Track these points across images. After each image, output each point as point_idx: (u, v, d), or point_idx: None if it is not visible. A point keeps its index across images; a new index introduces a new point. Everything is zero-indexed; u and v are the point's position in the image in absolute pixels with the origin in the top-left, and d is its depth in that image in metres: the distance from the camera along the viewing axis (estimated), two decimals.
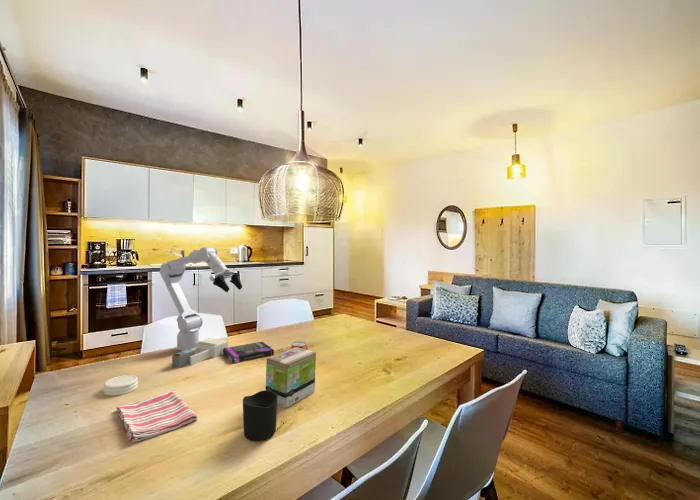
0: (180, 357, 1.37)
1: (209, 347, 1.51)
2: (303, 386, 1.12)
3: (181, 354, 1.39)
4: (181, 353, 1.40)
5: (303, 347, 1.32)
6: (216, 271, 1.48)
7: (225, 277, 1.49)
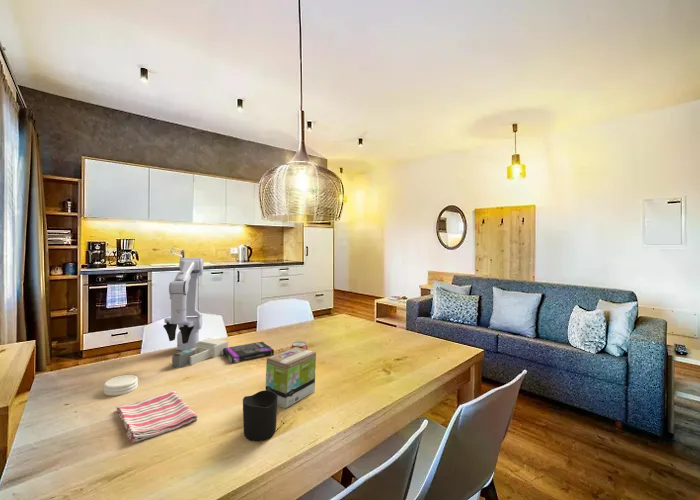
0: (180, 357, 1.37)
1: (209, 347, 1.51)
2: (303, 386, 1.12)
3: (181, 354, 1.39)
4: (181, 353, 1.40)
5: (303, 347, 1.32)
6: None
7: (178, 324, 1.38)
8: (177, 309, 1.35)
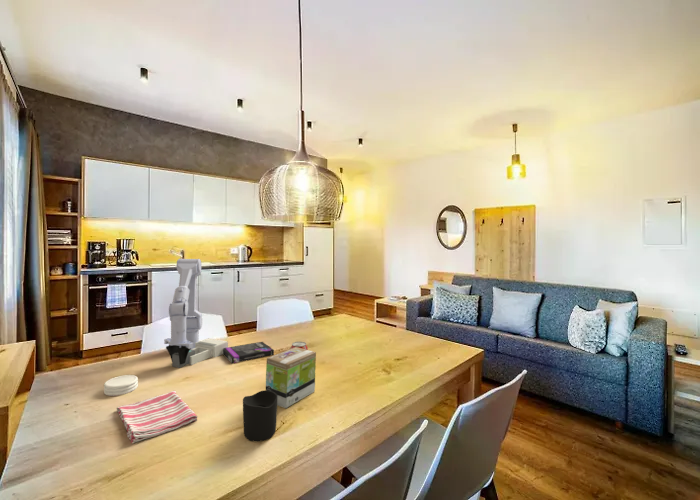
0: None
1: (209, 347, 1.51)
2: (303, 386, 1.12)
3: None
4: None
5: (303, 347, 1.32)
6: None
7: (178, 345, 1.39)
8: (177, 331, 1.36)
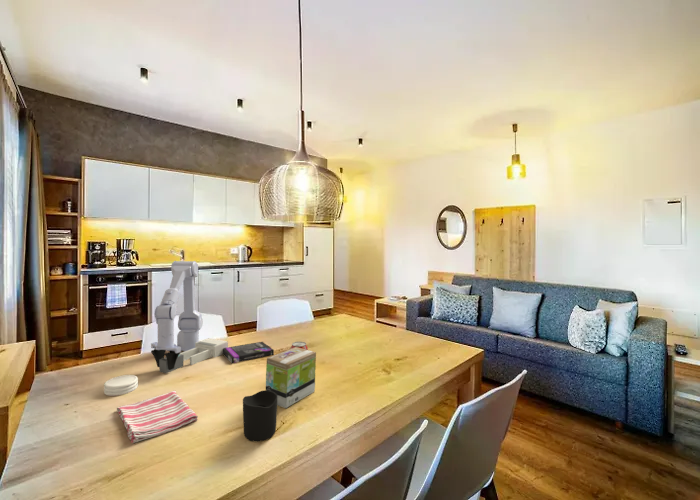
0: None
1: (209, 347, 1.51)
2: (303, 386, 1.12)
3: None
4: None
5: (303, 347, 1.32)
6: None
7: None
8: (163, 334, 1.30)
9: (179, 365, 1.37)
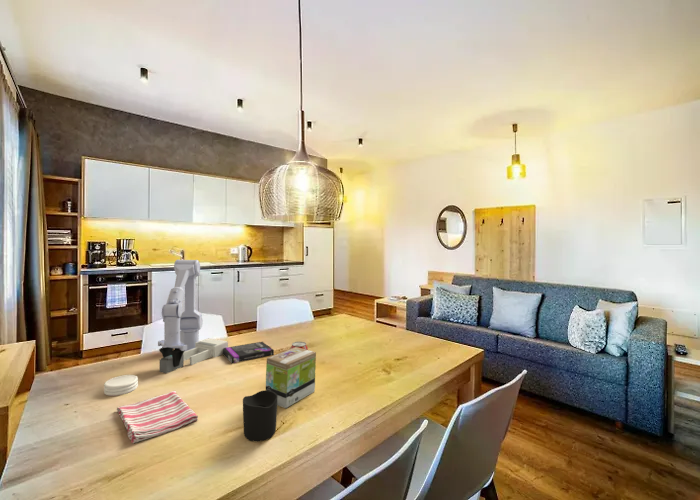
0: (168, 361, 1.32)
1: (209, 347, 1.51)
2: (303, 386, 1.12)
3: (169, 358, 1.34)
4: (169, 357, 1.35)
5: (303, 347, 1.32)
6: None
7: (171, 347, 1.36)
8: (170, 332, 1.33)
9: (179, 364, 1.37)
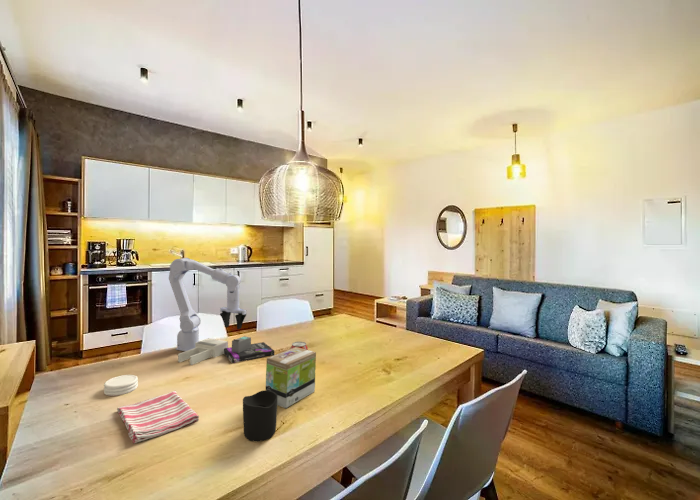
0: (239, 343, 1.49)
1: (209, 347, 1.51)
2: (303, 386, 1.12)
3: (240, 340, 1.51)
4: (239, 339, 1.52)
5: (303, 347, 1.32)
6: None
7: (232, 312, 1.61)
8: None
9: (248, 346, 1.54)
